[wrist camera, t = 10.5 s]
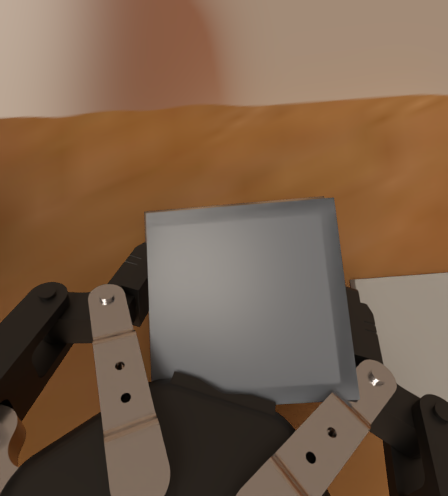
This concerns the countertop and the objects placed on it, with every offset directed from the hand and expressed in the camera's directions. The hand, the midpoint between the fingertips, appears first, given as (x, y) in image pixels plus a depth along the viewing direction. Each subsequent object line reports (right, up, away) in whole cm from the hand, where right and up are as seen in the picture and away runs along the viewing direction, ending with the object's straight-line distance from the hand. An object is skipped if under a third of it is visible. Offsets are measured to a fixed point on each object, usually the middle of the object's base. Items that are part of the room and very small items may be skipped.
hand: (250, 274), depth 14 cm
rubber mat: (+13, -5, +8) cm, 17 cm away
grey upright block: (0, -2, +4) cm, 4 cm away
